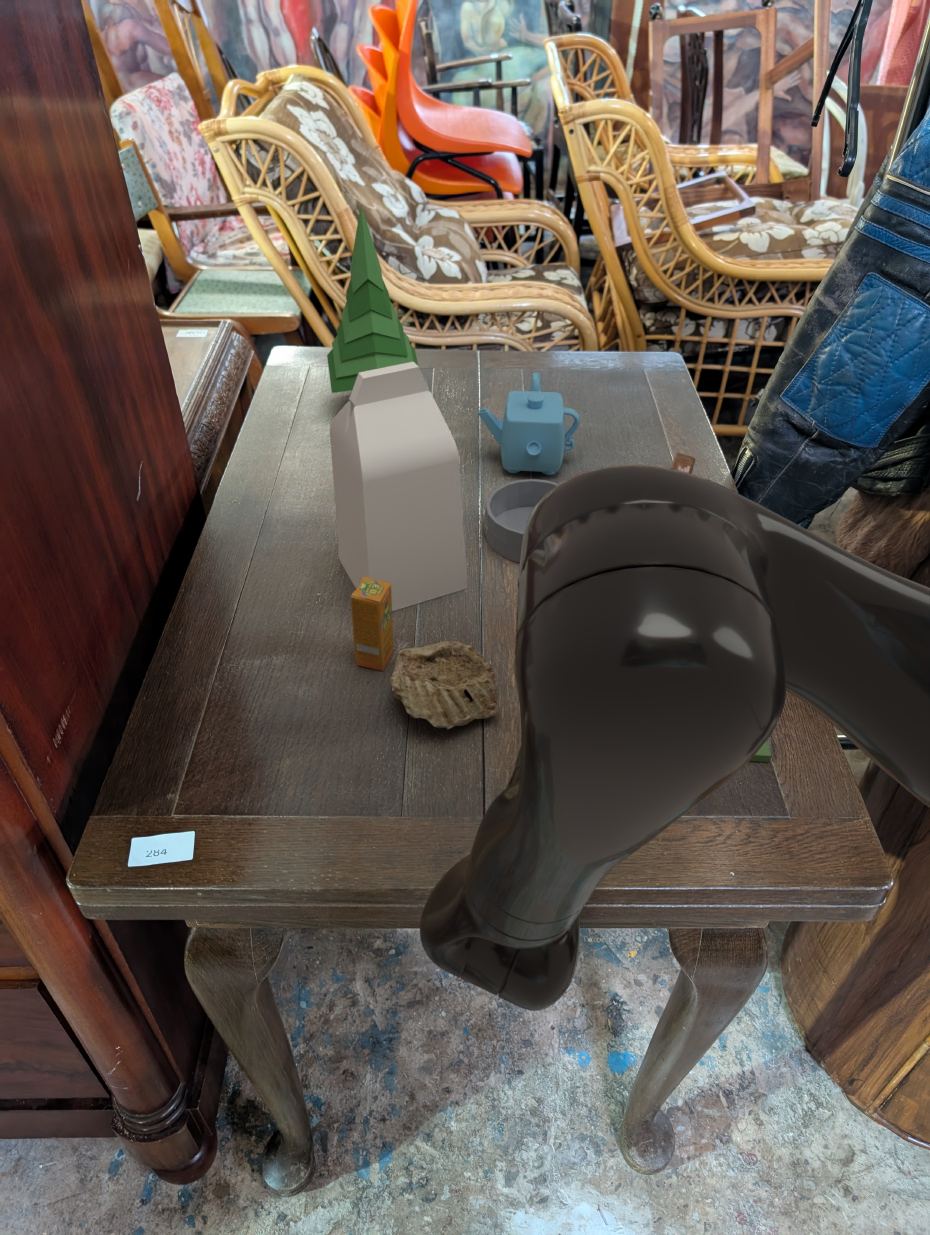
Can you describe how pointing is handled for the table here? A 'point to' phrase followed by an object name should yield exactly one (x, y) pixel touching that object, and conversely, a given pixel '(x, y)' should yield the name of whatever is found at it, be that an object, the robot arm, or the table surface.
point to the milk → (398, 488)
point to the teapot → (532, 430)
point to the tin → (683, 463)
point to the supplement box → (372, 623)
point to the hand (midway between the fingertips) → (622, 614)
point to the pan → (512, 514)
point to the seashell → (445, 684)
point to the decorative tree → (366, 320)
